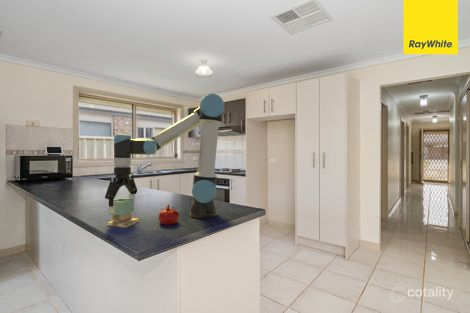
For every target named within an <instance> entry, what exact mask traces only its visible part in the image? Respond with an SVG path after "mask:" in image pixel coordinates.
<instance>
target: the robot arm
mask: <svg viewBox="0 0 470 313" xmlns="http://www.w3.org/2000/svg"><path fill="white" fill-rule="evenodd" d="M224 111H225V102H224V100H223V98H222V97H221V96H220V95H219V94H216V93H208V94H206V95H204V96H203V97H202V98H201V100H200V103H199V106H198V108H195V110H193V112H192V113H191V114H190V115H187V116H186V117H184V118H182V119H181V120H179V121H178V122H175V123H173V125H171V126H169V127H167V128H165V129H164V130H163V131H160V132H158V133H157V134H155V135H153V136H151V137H150V138H143V139H142V138H139V139H138V138H135V139H134V138H132V136H131V135H130V134H115V135H114V137H113V166H114V167H113V175H115V177H110V179H109V184H108V187H107V189H106V193H105V195H104V199H105V200H108V214H109V213H113V214H115V199H116V197H117V194H118V191H119V190H120V189H121V187H123V186H125V188H126V189H127V191H128V199H134V200H135V199H136V198H135V195H136V194H137V193H138V188H137V185H136V182H135V179H134V175H133V174H131V173H132V172H131V171H132V170H131V168H132V167H131V166H132V158H131V157H132V155H147V156H151V155H155V154H157V151H159V150H160V149H162V148H164V147H166V146H168V144H171V143H173V142H174V141H176V140H177V139H179V138H181V137H182V136H184V135H186V134H187V133H190V132H191V131H193V130H194V129H196V128H198V127H199V126H201V127H200V130H201V131H200V139H199V140H200V141H199V150H198V161H197V171H196V172H195V173H194V174H193V177H192V178H193V179H192V181H193V182H192V189H191V194H192V197H193V201H192V205H191V207H190V211H189V216H190V217H192V218H195V219H211V218H215V217H217V216H218V210H217V208H216V203H215V197H216V195H217V178H218V175H216V173H215V168H216V160H217V148H218V138H219V127H220V125H222V124H223V116H224ZM113 214H112V215H113Z"/></svg>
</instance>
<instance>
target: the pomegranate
mask: <svg viewBox="0 0 470 313" xmlns="http://www.w3.org/2000/svg"><path fill="white" fill-rule="evenodd" d="M176 209H177V208H175V207H172V206H171V207H170V204H167V206H165V208H164V209H162V210H161V211H160V212H159V214H158V220H159V221H158V222H159V223H160V224H162V225H165V226H169V225H174V224H176V223H177V222H178V221H179V217H180V214H179V213H178V211H177V210H176Z"/></svg>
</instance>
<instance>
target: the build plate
mask: <svg viewBox="0 0 470 313" xmlns="http://www.w3.org/2000/svg"><path fill="white" fill-rule="evenodd" d="M132 213H133V212H131V213H128V214H126V215H114V214H112V220H111V221H108V222H107V226H108V227H119V228H128V227H130V226H133V225H134V224H137V223H139V221H140V218H135V217H132Z"/></svg>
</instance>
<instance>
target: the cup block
mask: <svg viewBox="0 0 470 313" xmlns="http://www.w3.org/2000/svg"><path fill="white" fill-rule="evenodd" d="M114 199H115V214H114V215H126V214H128V213H131V212H132V213H133V212H135V199H129V198H127V197H125V198H124V197H119V198H114ZM108 215H113V213H109V212H108Z"/></svg>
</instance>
